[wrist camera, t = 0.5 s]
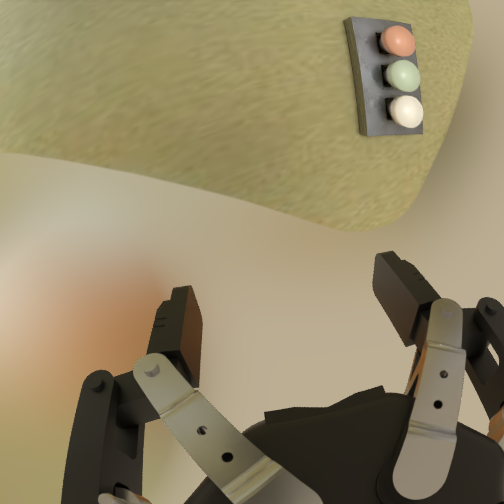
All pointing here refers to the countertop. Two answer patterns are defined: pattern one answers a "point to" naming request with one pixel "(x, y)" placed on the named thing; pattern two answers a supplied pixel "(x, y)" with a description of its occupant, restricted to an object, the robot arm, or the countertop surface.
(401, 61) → the sage button
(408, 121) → the ivory button
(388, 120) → the panel
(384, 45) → the terracotta button
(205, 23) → the countertop surface
